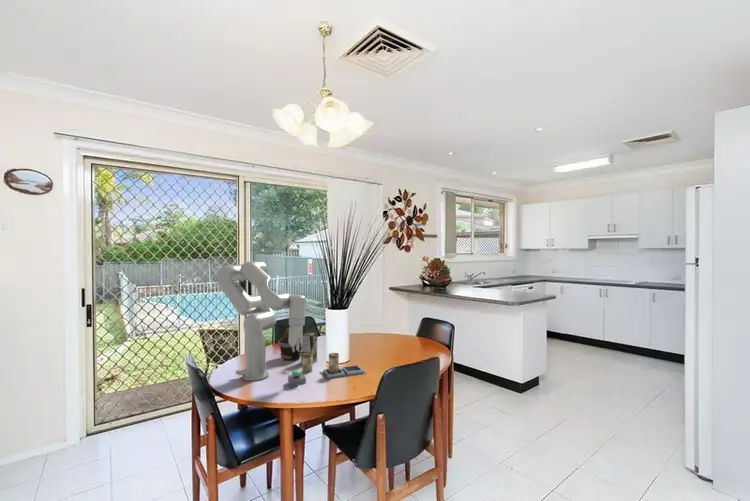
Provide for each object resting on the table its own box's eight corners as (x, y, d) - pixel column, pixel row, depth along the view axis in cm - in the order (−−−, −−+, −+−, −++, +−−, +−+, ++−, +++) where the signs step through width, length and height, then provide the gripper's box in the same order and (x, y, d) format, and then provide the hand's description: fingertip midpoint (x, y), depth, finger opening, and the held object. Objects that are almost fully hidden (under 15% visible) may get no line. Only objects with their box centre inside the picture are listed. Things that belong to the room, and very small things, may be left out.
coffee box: (311, 365, 199) (311, 336, 199) (300, 364, 200) (300, 335, 200) (317, 360, 208) (317, 332, 208) (307, 359, 209) (307, 332, 209)
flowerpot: (282, 354, 220) (282, 321, 220) (307, 355, 218) (307, 322, 218) (273, 361, 205) (273, 326, 205) (300, 362, 204) (300, 327, 204)
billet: (303, 375, 183) (303, 355, 183) (301, 372, 188) (301, 352, 188) (313, 374, 185) (313, 354, 185) (311, 371, 190) (311, 351, 190)
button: (293, 381, 168) (293, 373, 168) (291, 378, 172) (291, 370, 172) (302, 380, 170) (302, 372, 170) (300, 377, 174) (300, 369, 174)
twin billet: (330, 376, 178) (330, 355, 178) (327, 373, 183) (327, 352, 183) (340, 375, 180) (340, 354, 180) (337, 372, 185) (337, 351, 185)
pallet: (325, 382, 174) (325, 376, 174) (318, 374, 185) (318, 369, 185) (367, 376, 182) (367, 370, 182) (359, 369, 193) (359, 363, 193)
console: (290, 387, 167) (290, 380, 167) (288, 382, 173) (288, 375, 173) (305, 385, 169) (305, 378, 169) (302, 380, 176) (302, 373, 176)
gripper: (285, 318, 177) (284, 355, 177) (291, 325, 163) (289, 365, 163) (301, 317, 180) (299, 354, 180) (308, 324, 166) (306, 364, 166)
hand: (295, 359), depth 172 cm, fingers closed
